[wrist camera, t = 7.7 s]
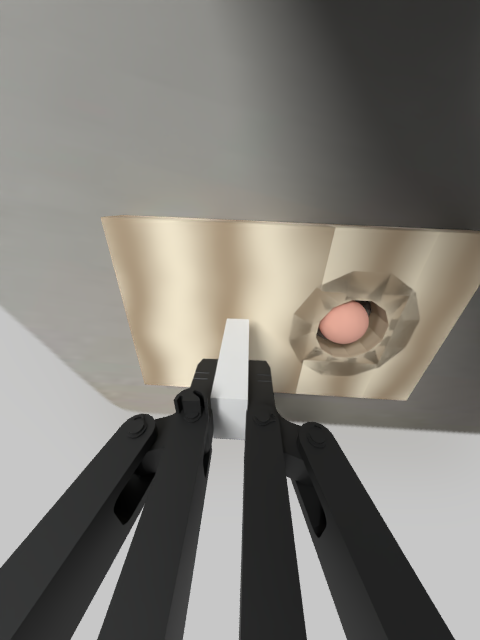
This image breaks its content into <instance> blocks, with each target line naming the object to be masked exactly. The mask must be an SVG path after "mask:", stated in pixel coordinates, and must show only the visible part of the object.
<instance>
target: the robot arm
mask: <svg viewBox="0 0 480 640" xmlns="http://www.w3.org/2000/svg"><path fill="white" fill-rule="evenodd" d="M248 357H249V319H228V318H227V321H226V325H225V330H224V335H223V340H222V345H221V349H220V354H219V359H204V358H203V359H202V360H201V362H200V363H199V364H198V365H197V368H196V371H195V374H194V377H193V380H192V383H191V386H190V388H188V389H186V390H183V391H181V392H180V393H179V394H178V395H177V396H176V397H175V399H174V404H175V409H176V413H174V414H173V415H170V416H167V417H163V418H159V419H155V420H154V419H153V417H152V416H150V415H149V414H139V415H135V416H133V417H131V418H129V419H128V420H127V421H126V422H125V423H124V424H123V425H122V426H121V427H120V428H119V429H118V430H117V432H116V433H115V434H114V435H113V436H112V438H111V439H110V440H109V441H108V442H107V443H106V445H105V446H104V447H103V448H102V449H101V450H100V452H99V453H98V454H97V455H96V456H95V457H94V459H93V460H92V461H91V462H90V463H89V465H88V466H87V467H86V468H85V469H84V471H83V472H82V473H81V474H80V475H79V476H78V478H77V479H76V480H75V481H74V482H73V483H72V485H71V486H70V487H69V488H68V489H67V490H66V492H65V493H64V494H63V495H62V496H61V498H60V499H59V500H58V501H57V502H56V504H55V505H54V506H53V507H52V508H51V509H50V510H49V512H48V513H47V514H46V515H45V516H44V517H43V519H42V520H41V521H40V522H39V523H38V525H37V526H36V527H35V528H34V529H33V530H32V532H31V533H30V534H29V535H28V537H27V538H26V539H25V540H24V541H23V542H22V543H21V545H20V546H19V547H18V548H17V549H16V550H15V552H14V553H13V554H12V555H11V556H10V558H9V559H8V560H7V561H6V562H5V563H4V565H3V566H2V567H1V568H0V640H70V639H71V637H72V636H73V634H74V632H75V630H76V628H77V626H78V624H79V623H80V621H81V619H82V617H83V616H84V614H85V612H86V610H87V608H88V606H89V605H90V603H91V601H92V599H93V597H94V595H95V594H96V592H97V590H98V588H99V586H100V585H101V583H102V581H103V579H104V577H105V575H106V574H107V572H108V570H109V568H110V566H111V564H112V563H113V561H114V559H115V557H116V555H117V554H118V552H119V550H120V548H121V546H122V544H123V543H124V541H125V539H126V537H127V535H128V534H129V532H130V530H131V528H132V526H133V524H134V522H135V521H136V519H137V517H138V515H139V514H140V512H141V510H142V508H143V506H144V508H143V511H142V514H141V517H140V520H139V522H138V525H137V528H136V531H135V534H134V537H133V540H132V542H131V546H130V548H129V551H128V554H127V557H126V560H125V563H124V565H123V568H122V571H121V574H120V577H119V580H118V582H117V585H116V588H115V591H114V594H113V597H112V600H111V602H110V605H109V608H108V611H107V614H106V617H105V619H104V623H103V625H102V628H101V631H100V634H99V636H98V639H97V640H183V634H184V627H185V621H186V614H187V608H188V602H189V595H190V589H191V582H192V576H193V569H194V563H195V557H196V549H197V544H198V537H199V531H200V524H201V518H202V511H203V505H204V499H205V492H206V486H207V480H208V473H209V467H210V460H211V453H212V445H211V444H212V438H213V437H214V438H220V439H239V440H245V452H244V487H243V489H244V490H243V523H242V557H241V558H242V559H241V589H240V592H241V593H240V625H239V626H240V627H239V640H307V637H306V629H305V621H304V613H303V605H302V598H301V590H300V582H299V574H298V566H297V558H296V550H295V543H294V534H293V526H292V518H291V511H290V503H289V495H288V487H287V479H286V476H287V477H289V478H291V480H292V484H293V486H294V489H295V492H296V495H297V498H298V500H299V503H300V506H301V509H302V512H303V515H304V518H305V521H306V524H307V526H308V529H309V532H310V535H311V538H312V541H313V543H314V546H315V549H316V552H317V555H318V558H319V560H320V564H321V566H322V569H323V572H324V575H325V578H326V580H327V584H328V586H329V589H330V592H331V595H332V597H333V601H334V603H335V606H336V609H337V612H338V615H339V618H340V621H341V623H342V626H343V629H344V632H345V635H346V638H347V640H455V639H454V637H453V636H452V634H451V632H450V630H449V629H448V627H447V625H446V624H445V622H444V620H443V619H442V617H441V615H440V614H439V612H438V610H437V609H436V607H435V605H434V604H433V602H432V601H431V599H430V597H429V595H428V594H427V592H426V590H425V589H424V587H423V586H422V584H421V582H420V580H419V579H418V577H417V575H416V574H415V572H414V570H413V569H412V567H411V565H410V563H409V562H408V560H407V559H406V557H405V555H404V554H403V552H402V550H401V549H400V547H399V545H398V543H397V542H396V540H395V538H394V537H393V535H392V533H391V532H390V530H389V529H388V527H387V525H386V523H385V522H384V520H383V518H382V517H381V515H380V513H379V512H378V510H377V508H376V507H375V505H374V503H373V501H372V500H371V498H370V496H369V495H368V493H367V492H366V490H365V488H364V486H363V485H362V484H361V481H360V480H359V478H358V477H357V475H356V473H355V471H354V470H353V468H352V466H351V465H350V463H349V461H348V460H347V458H346V456H345V455H344V453H343V451H342V450H341V448H340V446H339V445H338V443H337V441H336V440H335V438H334V436H333V435H332V433H331V432H330V431H329V430H328V429H327V428H326V427H324V426H323V425H321V424H319V423H316V422H307V423H305V424H303V425H302V426H299V425H296V424H294V423H291V422H289V421H287V420H285V419H284V418H282V417H281V416H280V415H279V414H278V412H277V410H276V407H275V401H274V393H273V385H272V376H271V368H270V366H269V364H268V363H267V361H262V360H248ZM144 504H145V505H144Z"/></svg>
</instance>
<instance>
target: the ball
mask: <svg viewBox="0 0 480 640" xmlns="http://www.w3.org/2000/svg"><path fill="white" fill-rule="evenodd" d="M368 325H369V317H368V314H367V312H366V310H365V308H364V307H363V306H362V305H361V304H360V303H358V302H356V301H354V300H351V301H349V302H346V303H344V304H342V305H339V306H337V307H334V308H332V310H331V311H330V312H329V313H328V314H327V315H326V316H325V317H324V318H323V319H322V320H321V321H320V323H319V329H320V331H321V333H322V334H323V335H324V336H325V337H326V338H327V339H329V340H330V341H332V342H335V343H339V344H348V343H352V342H355V341H357V340H358V339H360V338H361V337H362V336H363V335H364V334H365V332H366V331H367V328H368Z"/></svg>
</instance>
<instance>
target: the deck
mask: <svg viewBox="0 0 480 640" xmlns="http://www.w3.org/2000/svg"><path fill="white" fill-rule="evenodd" d="M101 220H102V224H103V228H104V232H105V236H106V239H107V243H108V247H109V251H110V254H111V258H112V262H113V266H114V270H115V273H116V277H117V281H118V285H119V288H120V292H121V296H122V300H123V304H124V307H125V311H126V315H127V319H128V322H129V326H130V330H131V334H132V338H133V341H134V345H135V349H136V353H137V357H138V360H139V364H140V368H141V372H142V375H143V379H144V383H145V384H148V385H164V386H180V387H190V386H191V383H192V380H193V377H194V374H195V371H196V368H197V365H198V364H199V363H200V362H201V360H202V359H203V358H204V359H219V354H220V349H221V345H222V340H223V335H224V330H225V325H226V321H227V318H228V319H249V357H248V360H262V361H267V363H268V364H269V366H270V368H271V376H272V385H273V392H276V393H292V394H308V395H324V396H340V397H356V398H372V399H388V400H404V401H406V400H407V399H408V397H409V396H410V394H411V392H412V391H413V389H414V388H415V386H416V385H417V383H418V381H419V380H420V378H421V377H422V375H423V374H424V372H425V370H426V369H427V367H428V366H429V364H430V363H431V361H432V359H433V358H434V356H435V355H436V353H437V351H438V350H439V348H440V347H441V345H442V344H443V342H444V340H445V339H446V337H447V336H448V334H449V333H450V331H451V329H452V328H453V326H454V325H455V323H456V322H457V320H458V318H459V317H460V315H461V314H462V312H463V310H464V309H465V307H466V306H467V304H468V303H469V301H470V299H471V298H472V296H473V295H474V293H475V292H476V290H477V288H478V287H479V285H480V231H473V230H454V229H431V228H408V227H385V226H361V225H338V224H315V223H292V222H269V221H246V220H223V219H200V218H177V217H154V216H130V215H120V216H109V217H101ZM351 300H361V301H369V302H370V306H371V313H370V315H369V325H368V328H367V331H366V332H365V334H364V335H363V336H362V337H361V338H360V339H358V340H357V341H355V342H352V343H348V344H339V343H335V342H332V341H330V340H329V339H323V338H322V337H320V336H318V335H317V331H318V327H319V323H320V321H321V320H322V319H323V318H324V317H325V316H326V315H327V314H328V313H329V312H330V311H331V310H332V308H334V307H337V306H339V305H342V304H344V303H346V302H349V301H351Z"/></svg>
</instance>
